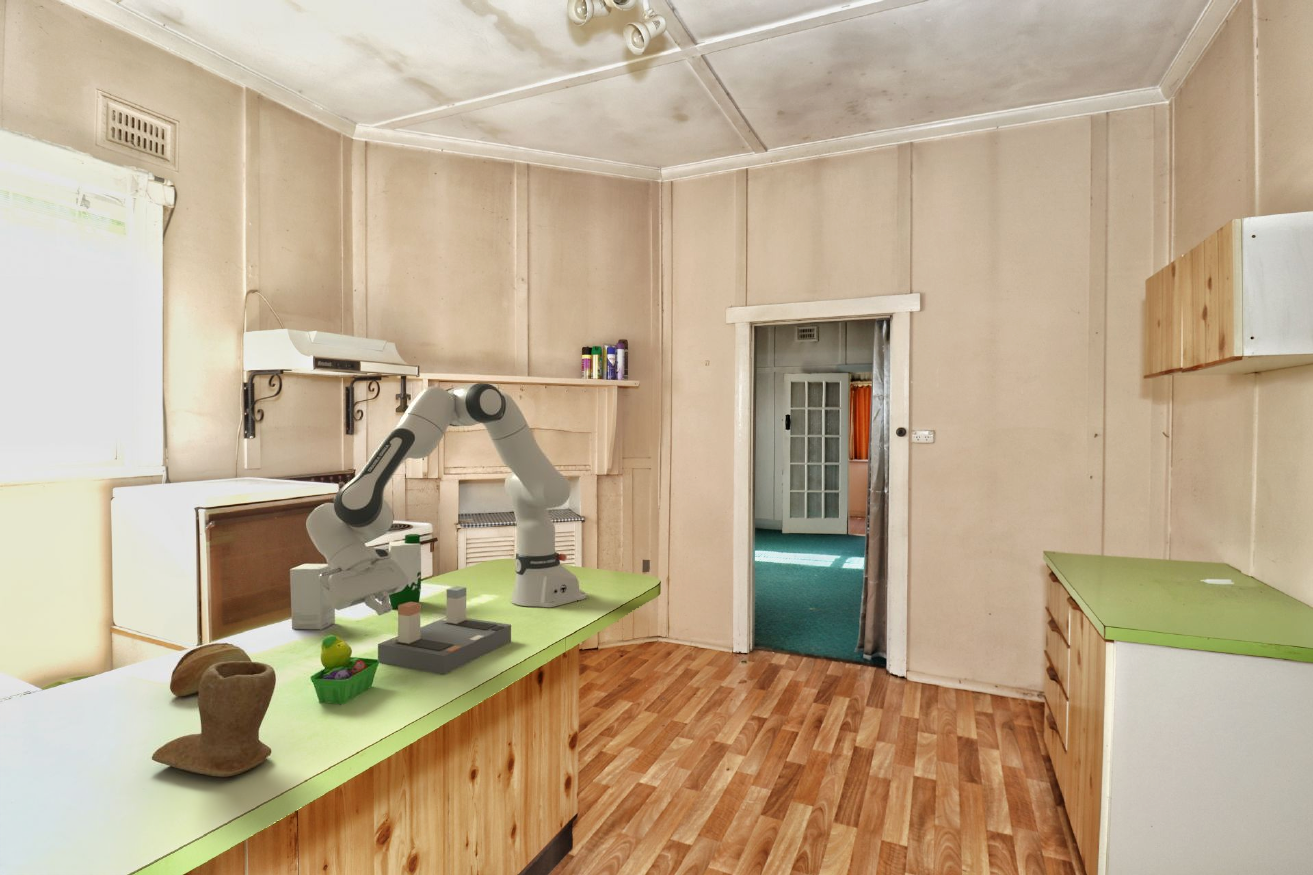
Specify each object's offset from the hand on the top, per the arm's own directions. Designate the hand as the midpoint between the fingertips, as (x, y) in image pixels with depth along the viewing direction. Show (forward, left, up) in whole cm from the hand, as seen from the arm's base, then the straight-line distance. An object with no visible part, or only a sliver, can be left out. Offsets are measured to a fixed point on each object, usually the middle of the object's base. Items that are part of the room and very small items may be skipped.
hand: (386, 612), depth 151 cm
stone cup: (+34, +34, -10) cm, 49 cm away
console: (-12, +5, -10) cm, 16 cm away
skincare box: (+9, -33, -10) cm, 35 cm away
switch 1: (-3, +6, -5) cm, 9 cm away
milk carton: (-16, -40, -10) cm, 44 cm away
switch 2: (-17, -2, -5) cm, 18 cm away
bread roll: (+33, -2, -10) cm, 34 cm away
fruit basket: (+13, +17, -10) cm, 24 cm away
